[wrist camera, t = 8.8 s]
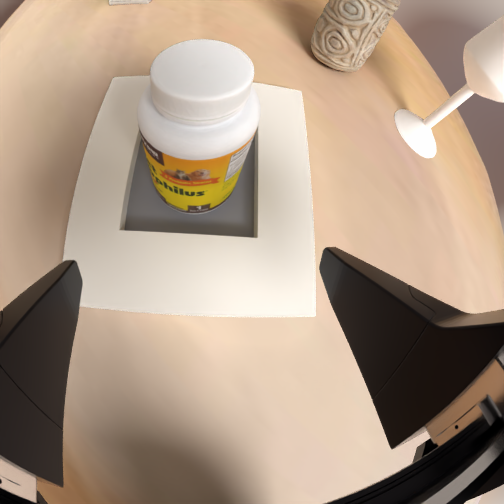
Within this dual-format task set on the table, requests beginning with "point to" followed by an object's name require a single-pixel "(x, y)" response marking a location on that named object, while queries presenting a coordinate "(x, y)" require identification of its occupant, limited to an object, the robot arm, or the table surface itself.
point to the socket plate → (195, 221)
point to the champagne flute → (478, 81)
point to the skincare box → (128, 2)
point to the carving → (350, 31)
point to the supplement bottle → (198, 122)
